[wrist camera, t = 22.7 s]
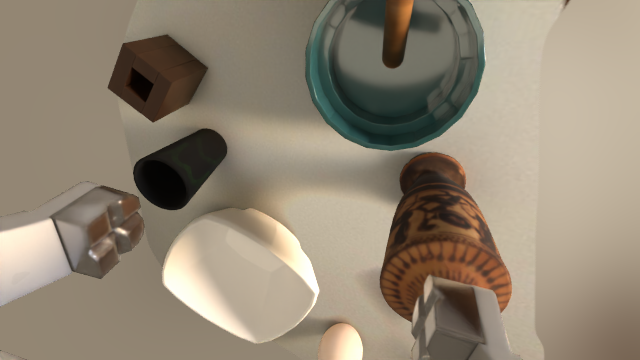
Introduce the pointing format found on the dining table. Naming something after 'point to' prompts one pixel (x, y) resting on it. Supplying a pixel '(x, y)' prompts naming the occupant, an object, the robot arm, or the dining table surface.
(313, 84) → the mixing bowl
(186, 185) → the cup
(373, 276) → the dining table surface
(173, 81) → the holder
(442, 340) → the robot arm
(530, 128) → the dining table surface
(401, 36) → the stick
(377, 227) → the dining table surface
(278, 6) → the dining table surface
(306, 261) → the bowl
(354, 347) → the egg
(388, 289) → the vase
